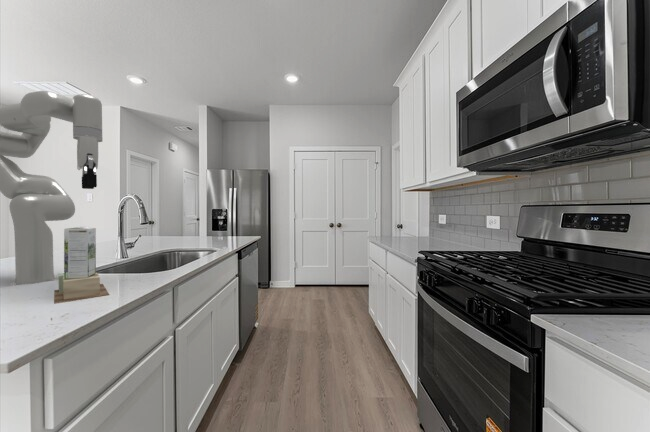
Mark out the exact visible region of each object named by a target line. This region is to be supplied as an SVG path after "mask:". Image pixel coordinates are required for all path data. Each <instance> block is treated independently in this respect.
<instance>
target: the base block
mask: <svg viewBox="0 0 650 432" xmlns="http://www.w3.org/2000/svg"><path fill="white" fill-rule="evenodd" d="M100 284H101V277H100V275H99V274H98V272H96V274H94V275H92V276H90V277H88V278H76V279H64V277H63V296H64V300H65V299H71V298H78V297H84V296H91V295H98V294H100Z"/></svg>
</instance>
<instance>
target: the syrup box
mask: <svg viewBox="0 0 650 432" xmlns="http://www.w3.org/2000/svg"><path fill="white" fill-rule="evenodd" d="M63 232H64V233H63V237H64V238H63V239H64V240H63V242H64V243H63V244H64V245H63V248H64V249H63V258H64V259H63V267H64V268H63V270H64V271H63V273H64V279H76V278H88V277H90V276H92V275H94V274H96V273H97V265H96V264H97V263H96V262H97V257H96V255H97V247H96V246H97V243H96V242H97V241H96V239H97V238H96V237H97V236H96V235H97V234H96V232H97V228H96V227H95V226H94V227H93V226H77V227H68V228H64V230H63Z"/></svg>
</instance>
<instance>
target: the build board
mask: <svg viewBox="0 0 650 432" xmlns="http://www.w3.org/2000/svg"><path fill="white" fill-rule="evenodd" d="M53 293H54V294H53V305H54V304H55V305H56V304H61V303H68V302H75V301H79V300H80V301H82V300H87V299H93V298H99V297H101V298H102V297H106V296H107V297H108V296H110V293H109V291H108V290H107V289H106V287H105V285H104V284H103V283H100V294H98V295H91V296H84V297H78V298H71V299H65V300H64V296H63V293H59V289H54V291H53Z"/></svg>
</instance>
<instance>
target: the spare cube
mask: <svg viewBox="0 0 650 432" xmlns="http://www.w3.org/2000/svg"><path fill="white" fill-rule="evenodd" d="M57 274H58V275H57V276H58V277H57V278H58V280H57V281H58V290H59V293H63V277H64V272H61V273H57Z"/></svg>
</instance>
